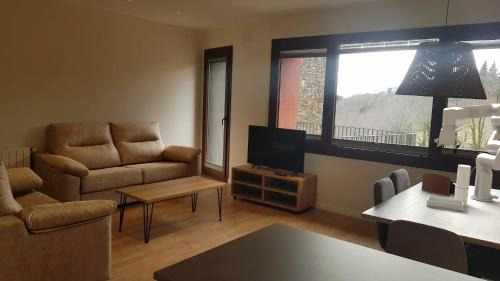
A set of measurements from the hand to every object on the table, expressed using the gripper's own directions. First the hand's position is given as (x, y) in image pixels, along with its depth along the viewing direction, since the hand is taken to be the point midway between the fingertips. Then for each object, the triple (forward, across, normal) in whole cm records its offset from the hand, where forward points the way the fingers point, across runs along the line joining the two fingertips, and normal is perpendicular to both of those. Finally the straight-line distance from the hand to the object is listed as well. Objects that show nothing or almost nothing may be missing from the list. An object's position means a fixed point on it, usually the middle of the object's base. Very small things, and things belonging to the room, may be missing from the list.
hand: (446, 153), depth 245 cm
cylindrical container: (+32, -9, -4) cm, 34 cm away
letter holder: (+33, +14, -21) cm, 41 cm away
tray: (+32, -6, +13) cm, 35 cm away
